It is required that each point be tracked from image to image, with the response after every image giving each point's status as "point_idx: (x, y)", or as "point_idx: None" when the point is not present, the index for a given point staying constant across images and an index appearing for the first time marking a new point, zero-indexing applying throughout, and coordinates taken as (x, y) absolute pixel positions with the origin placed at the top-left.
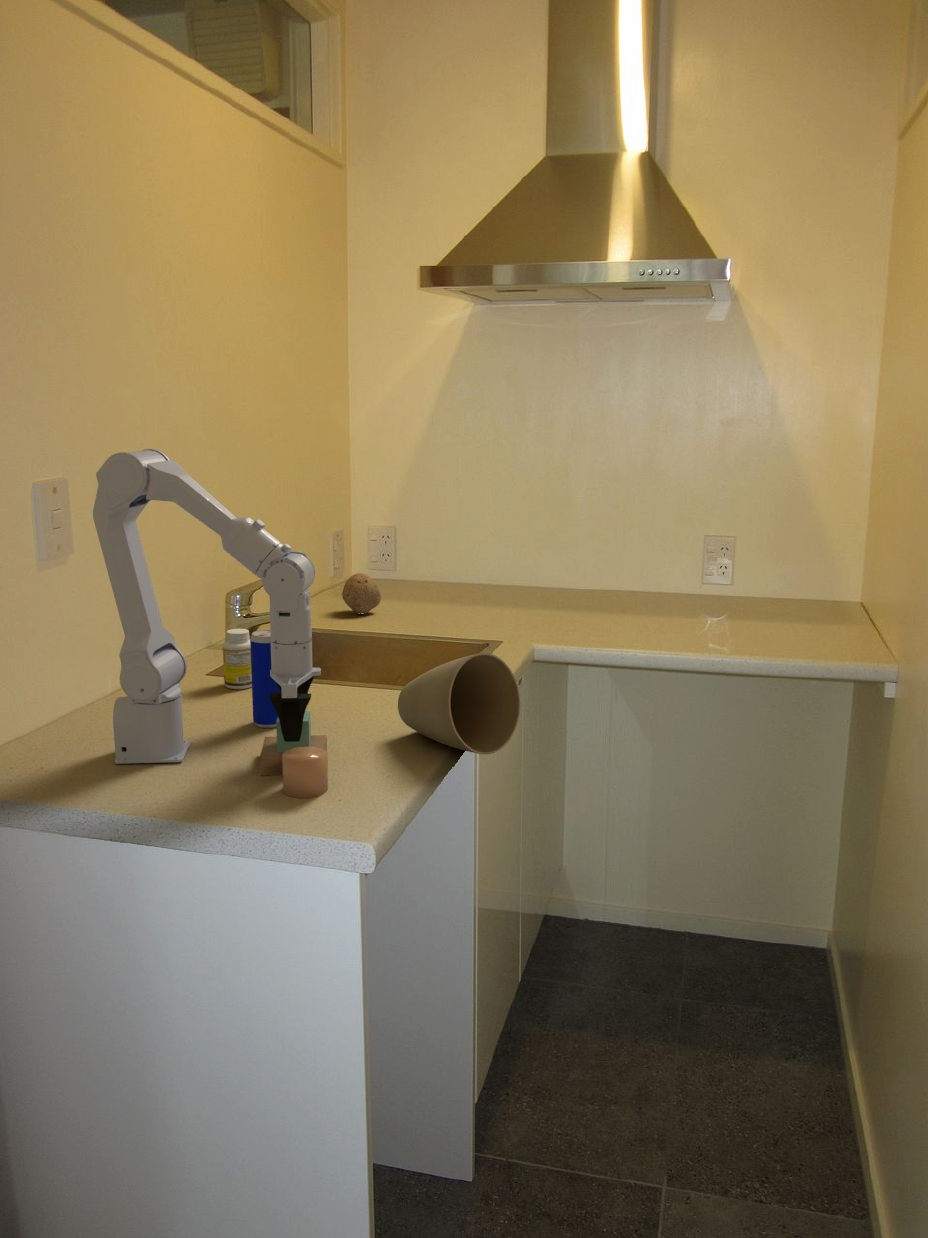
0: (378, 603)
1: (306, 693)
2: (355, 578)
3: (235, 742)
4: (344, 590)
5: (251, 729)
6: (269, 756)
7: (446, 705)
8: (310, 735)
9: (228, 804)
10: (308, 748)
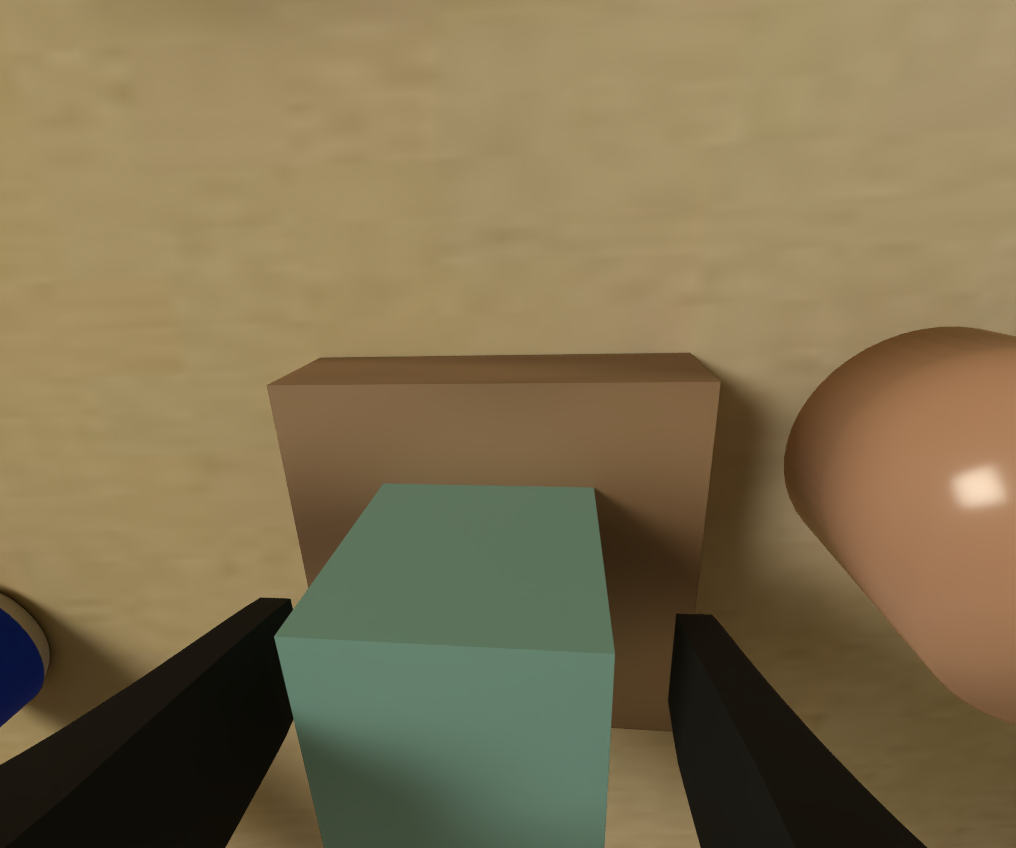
0: None
1: (27, 841)
2: None
3: None
4: None
5: (84, 695)
6: (659, 691)
7: None
8: (402, 509)
9: (992, 753)
10: (978, 558)
